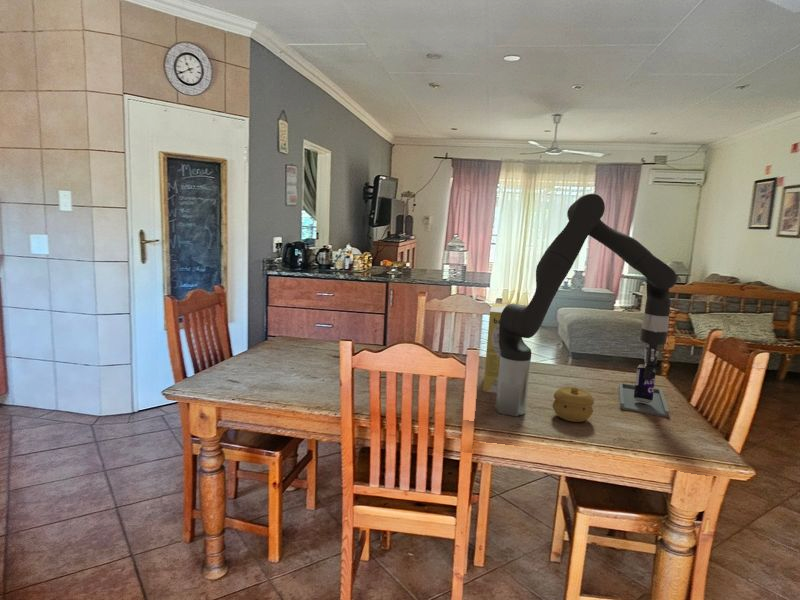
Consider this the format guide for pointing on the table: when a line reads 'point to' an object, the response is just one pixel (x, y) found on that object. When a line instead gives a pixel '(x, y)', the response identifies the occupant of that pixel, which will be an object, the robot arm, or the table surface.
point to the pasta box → (493, 349)
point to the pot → (573, 404)
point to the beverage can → (643, 385)
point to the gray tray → (630, 403)
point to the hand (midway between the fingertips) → (647, 379)
